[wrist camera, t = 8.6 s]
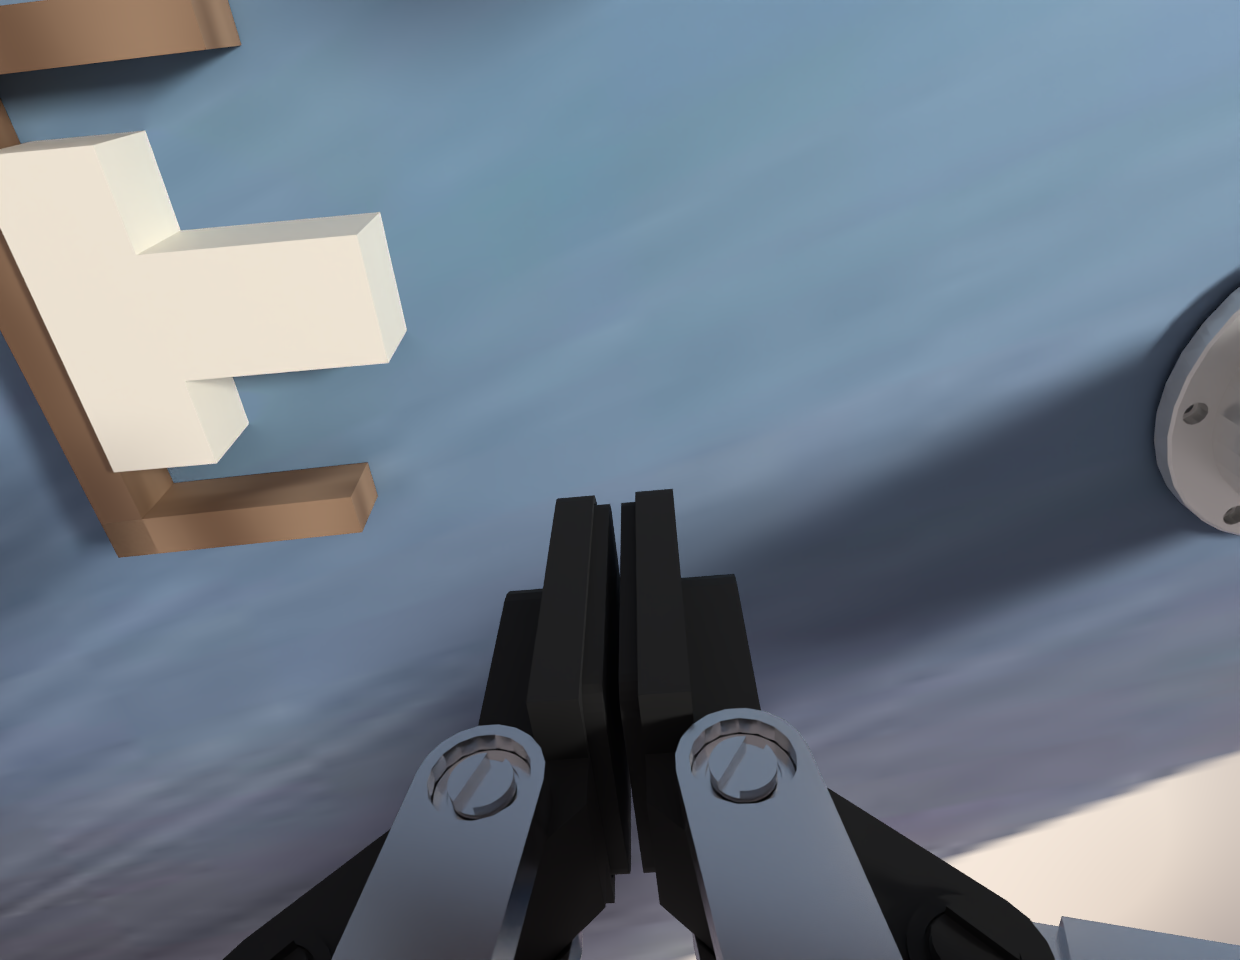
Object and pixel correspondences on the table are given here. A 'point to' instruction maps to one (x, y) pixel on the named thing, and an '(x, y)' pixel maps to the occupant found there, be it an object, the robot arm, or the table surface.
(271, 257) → the t block
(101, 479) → the brown u-shaped bracket
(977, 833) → the table surface
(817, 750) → the table surface
